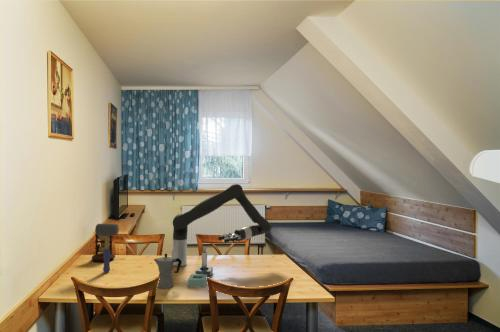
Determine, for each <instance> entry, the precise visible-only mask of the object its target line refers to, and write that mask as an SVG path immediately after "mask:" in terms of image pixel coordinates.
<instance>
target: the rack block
mask: <svg viewBox="0 0 500 332" xmlns="http://www.w3.org/2000/svg"><path fill="white" fill-rule="evenodd" d="M206 277H207V275H204V274H195V273H191V274H190V275H189V277H188V278H187V287H188V286H192V287H191V288H205V287H206V284H207V283H206Z"/></svg>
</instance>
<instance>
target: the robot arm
mask: <svg viewBox="0 0 500 332" xmlns="http://www.w3.org/2000/svg"><path fill="white" fill-rule="evenodd" d="M234 199H235V200H236V201H237V202H238V203H239V204H240V206H241V207H242V209H243V210H244V212H245V213H246V215H247V216H248V217H249V219H250V220H251V222H252V223H254V224H256V225H249V226H245V227H240V228H237V229H235V230H234V232H227V233H224V234H222V235H221V236H218V237H217V241H222V240H223V242H224V243H225V244H227V243H235V242H241V241H243V240H244V241H245V240H249V239H250V238H253V237H256V236H261V235H264V234H266V233H269V232H270V231H271V229H272V227H271V226H272V225H271V223H270V222H269V221H268V220H267V219H266V218H265V217H264V216H263V215H262V214H261V213H260V212H259V210H258V209H257V208H256V206H254V204H252V202H251V201H250V200H249V199H248V197H247V196H246V194H245V192H244V190H243V187H242V185H241V184H239V183H233V184H231V185H230V186H229V187H227V188H226V189H225V190H223V191H222V192H219V193H217V194H215V195H211V196H210V197H208V198H206V199H205V200H204V199H203V200H202V201H201V202H199V203H198V204H196V205H195V206H194V207H193V208H192V209H190V210H189V211H185V212H184V213H178V214H177V215H175V216H174V218H173V219H172V226H173V231H172V250H171V257H173V258H179V259H180V260H181V261H182V263H181V266H180V267H183V266H186V265H187V264H188V263H187V259H188V257H187V256H188V255H187V254H188V249H187V248H188V226H189V225H191V224H192V223H193V222H195V221H197V220H198V219H201V218H202V217H205V216H207V215H210V214H211V213H213V212H214V211H216V210H217V209H219V208H221V206H223V205H225V204H226V203H228V202H230V201H232V200H234ZM178 263H179V262H174V264H173V267H178Z"/></svg>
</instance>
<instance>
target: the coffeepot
mask: <svg viewBox="0 0 500 332" xmlns="http://www.w3.org/2000/svg"><path fill="white" fill-rule="evenodd" d="M153 261H154V262H155V263H156V265H157V266H158V271H159V273H158V277H159V278H160V280H159V283H158V282H157V283H158V287H157V288H158V289H162V290H167V289H171V288H173V287H174V279H173V273H172V272H173V271H174V270H173V269H174V265H173V264H174V262H179V263H178V266H176V270H175V271H174V274H178V273H179V270H180V268H181V267H182V266H181V263H182V261H181V260H180V259H179V258H173V257H172V256H168V253H164V256H162V257H157V258H154V259H153Z"/></svg>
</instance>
